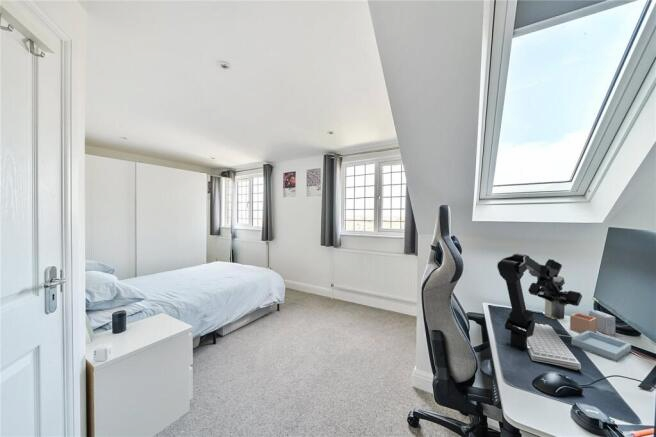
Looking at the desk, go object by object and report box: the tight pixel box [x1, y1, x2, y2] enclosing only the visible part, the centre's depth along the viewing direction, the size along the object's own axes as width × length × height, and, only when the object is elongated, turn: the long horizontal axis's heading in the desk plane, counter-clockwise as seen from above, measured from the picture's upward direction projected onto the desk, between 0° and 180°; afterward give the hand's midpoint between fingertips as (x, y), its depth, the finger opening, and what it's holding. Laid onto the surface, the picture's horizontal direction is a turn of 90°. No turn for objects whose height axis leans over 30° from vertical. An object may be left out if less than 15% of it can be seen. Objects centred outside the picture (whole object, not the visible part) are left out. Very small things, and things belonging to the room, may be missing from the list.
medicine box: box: [588, 310, 616, 336], centre depth 118 cm, size 8×4×9 cm, turn 179°
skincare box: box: [544, 299, 558, 320], centre depth 134 cm, size 6×4×12 cm
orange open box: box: [569, 312, 597, 334], centre depth 118 cm, size 7×7×7 cm
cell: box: [551, 297, 566, 320], centre depth 119 cm, size 5×5×12 cm
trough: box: [570, 331, 632, 362], centre depth 103 cm, size 16×13×3 cm
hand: (559, 303), depth 120 cm, fingers closed on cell, 5 cm apart
